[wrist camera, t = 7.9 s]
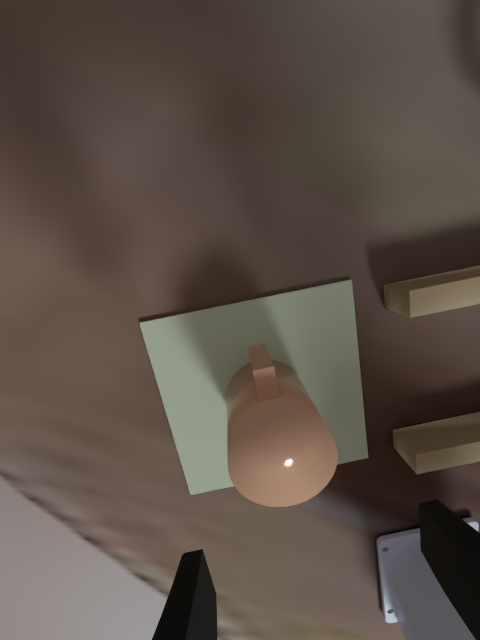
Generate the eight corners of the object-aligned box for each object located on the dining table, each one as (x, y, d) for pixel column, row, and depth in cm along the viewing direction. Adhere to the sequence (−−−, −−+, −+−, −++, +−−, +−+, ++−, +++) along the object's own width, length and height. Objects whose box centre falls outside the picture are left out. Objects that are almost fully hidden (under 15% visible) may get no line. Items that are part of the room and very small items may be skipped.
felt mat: (367, 456, 20) (368, 457, 20) (191, 492, 20) (190, 495, 20) (350, 279, 17) (351, 279, 17) (140, 322, 17) (139, 323, 17)
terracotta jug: (307, 420, 19) (343, 494, 13) (235, 435, 19) (240, 516, 13) (292, 328, 17) (326, 367, 12) (213, 345, 17) (208, 393, 12)
